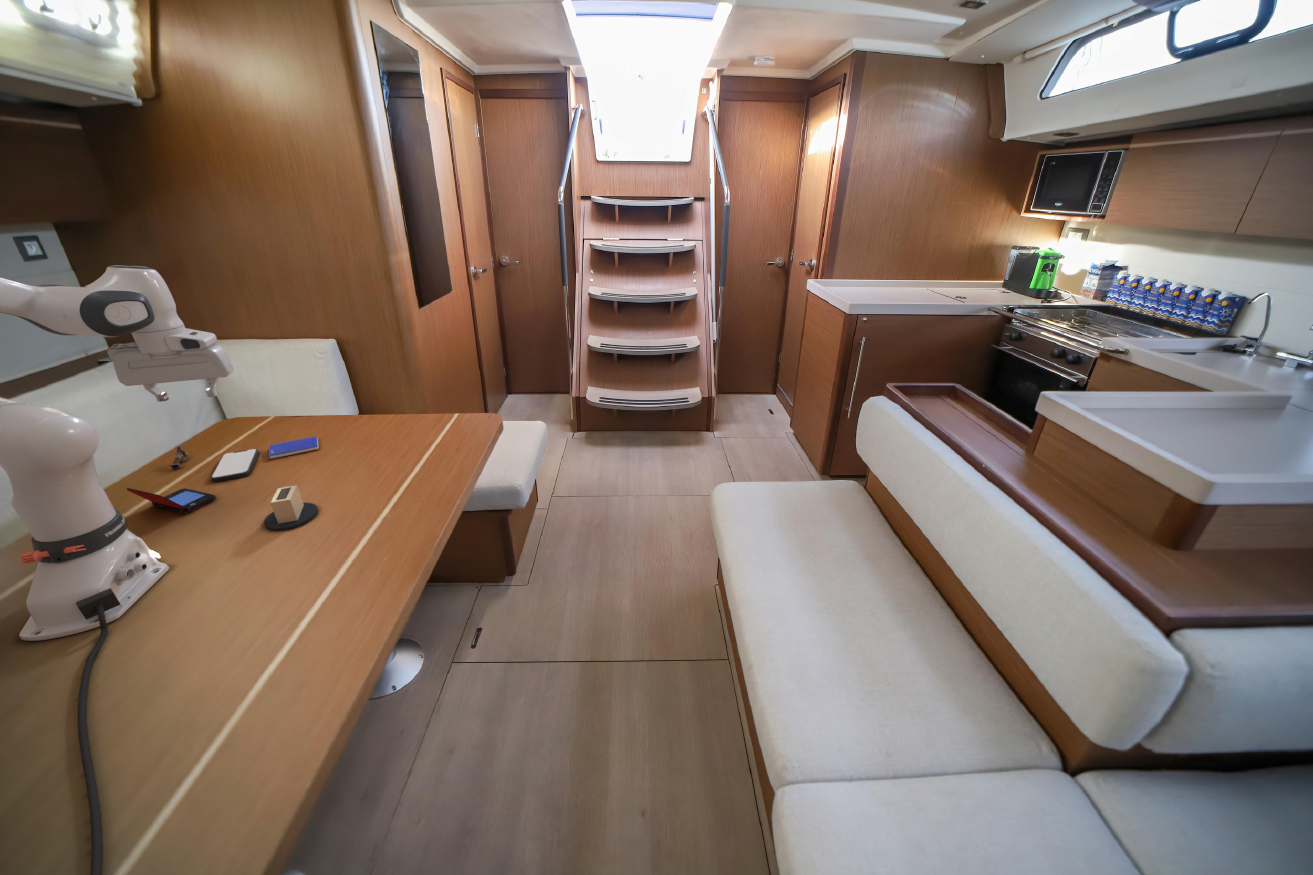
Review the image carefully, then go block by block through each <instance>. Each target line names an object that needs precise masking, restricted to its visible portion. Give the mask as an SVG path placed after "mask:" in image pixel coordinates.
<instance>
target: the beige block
mask: <svg viewBox="0 0 1313 875" xmlns="http://www.w3.org/2000/svg"><path fill="white" fill-rule="evenodd" d="M303 503H304V502H303V499H302V496H301V492H300V490H299V487H298V485H297V484H296V485H290V486H284V487H283V486H282V487H278V488H277V489H276V491H275V493H274V495H273V496H272V499H271V500H270V502H269V504H270V506H271V509H272V512H274V514H275V516H276V519H277V522H278V524H280V523H285V522H291V521H297V520H298V518H299V516H300V514H301V511H302V509H303V506H304V504H303Z"/></svg>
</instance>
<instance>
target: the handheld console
mask: <svg viewBox="0 0 1313 875" xmlns="http://www.w3.org/2000/svg"><path fill="white" fill-rule="evenodd" d="M126 490H127V491H128V492H130V493H132V494H134V495H136V496H137V497H141V498H143V499H144V500H147V501H150V502H151V504H152V506H154V507H159V508H164V509H168V510H169V509H170V510H171V509H172V510H173V511H177V512H180V513H184V514H189V513H191V512H192V511H194V510H197V509H198V508H200V507H203V506H204V505H207V504H210V503H211V502H213V501H214V500H217V499H216V498H217V496H216V495H215V494H212V493H207V492H203V491H198V490H195V489H190V488H179V489H178V490H176V491H173V492H172V493H169V494H167V495H164V496H163V495H160V494H156V493H152V492H148V491H143V490H138V489H134V488H130V487H127V488H126Z"/></svg>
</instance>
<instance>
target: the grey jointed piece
mask: <svg viewBox="0 0 1313 875" xmlns="http://www.w3.org/2000/svg"><path fill="white" fill-rule="evenodd" d="M188 456H189V455H188V453H187V452H186V451H185V450H184V447H183V445H181V444H180V445H178V446H177V447H176V452H175V454H174V459H173V462H172V464H169V467H170V468H171V469H172V470H178V469H181V466H180V462H181V463H184V462H186V460H187V457H188Z"/></svg>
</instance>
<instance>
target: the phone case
mask: <svg viewBox="0 0 1313 875" xmlns="http://www.w3.org/2000/svg"><path fill="white" fill-rule="evenodd" d="M259 453H260V451H259V448H249V449H245V450H238V451H237V450H236V451H231V452H227V453H224V454H222V456H221V458H220V460H219V462H218V463H217V465H216V466H215V469H214V471H213V473H212V474H211V476H210V480H211V482H212V483H216V482H222V481H223V482H224V481H228V480H235V479H240V478H246V477H248V476H250V475H251V472H252V470H253V468H254V466H255V463H256V460H257V458H258V456H259Z"/></svg>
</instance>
